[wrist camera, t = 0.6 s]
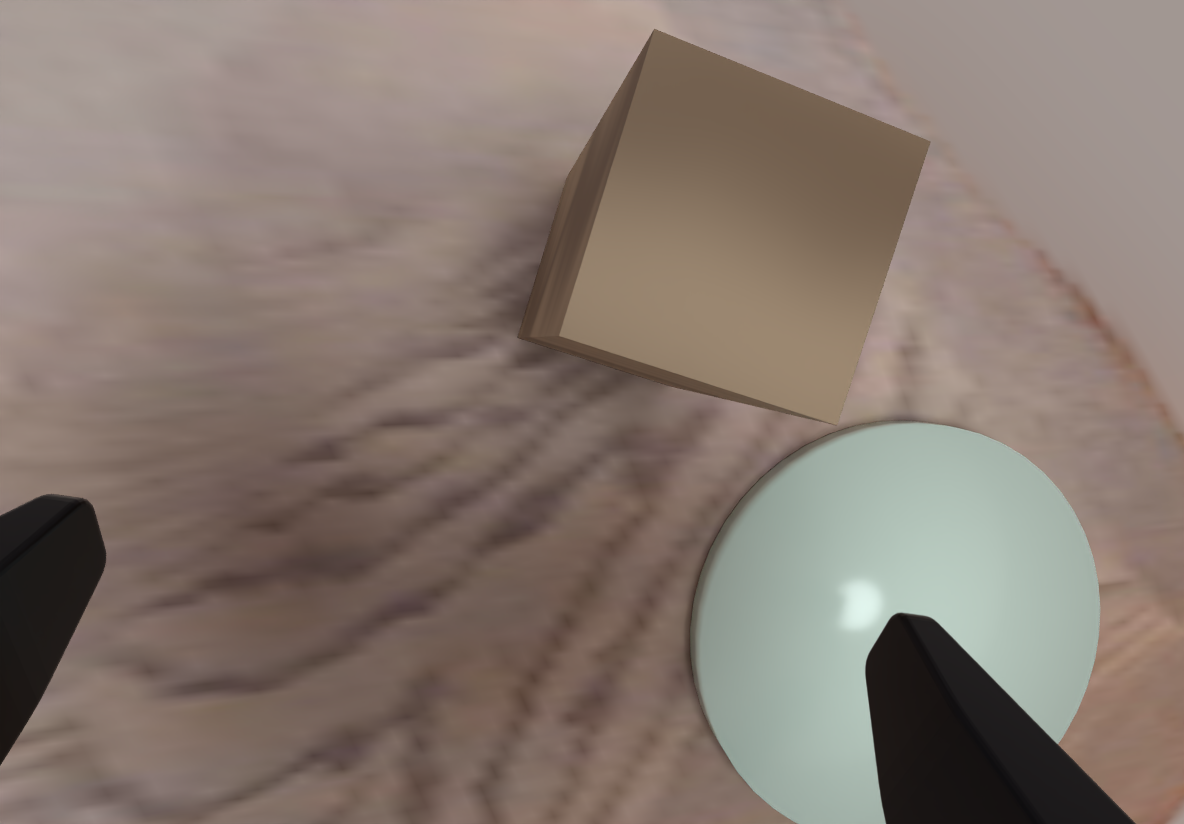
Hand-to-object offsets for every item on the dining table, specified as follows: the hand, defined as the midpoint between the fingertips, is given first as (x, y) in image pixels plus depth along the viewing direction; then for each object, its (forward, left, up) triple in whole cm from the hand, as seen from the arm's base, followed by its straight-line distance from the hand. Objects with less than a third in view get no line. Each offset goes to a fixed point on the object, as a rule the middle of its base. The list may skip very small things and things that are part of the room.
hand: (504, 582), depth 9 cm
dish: (+1, -15, -15) cm, 21 cm away
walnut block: (+6, -1, -15) cm, 16 cm away
